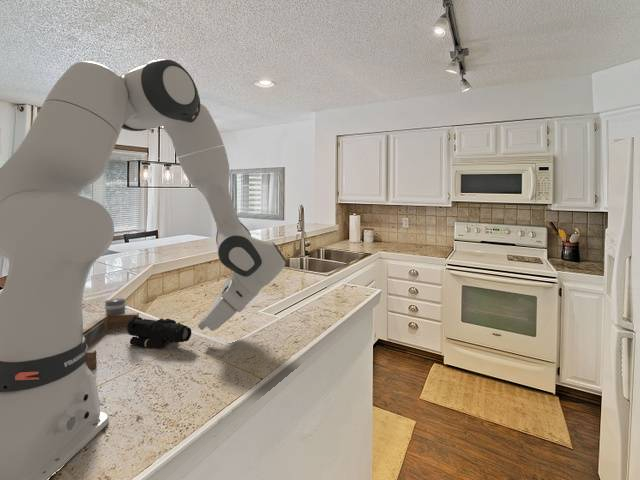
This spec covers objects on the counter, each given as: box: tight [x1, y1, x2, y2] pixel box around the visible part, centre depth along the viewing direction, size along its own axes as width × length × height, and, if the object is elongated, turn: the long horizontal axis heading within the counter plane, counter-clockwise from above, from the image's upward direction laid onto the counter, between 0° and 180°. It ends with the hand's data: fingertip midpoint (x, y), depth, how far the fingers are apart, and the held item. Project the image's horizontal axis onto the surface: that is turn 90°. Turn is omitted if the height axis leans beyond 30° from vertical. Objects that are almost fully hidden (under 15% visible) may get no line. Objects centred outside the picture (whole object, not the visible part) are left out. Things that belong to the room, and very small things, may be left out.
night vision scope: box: [126, 315, 192, 350], centre depth 86 cm, size 8×18×10 cm
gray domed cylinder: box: [104, 297, 127, 314], centre depth 101 cm, size 5×5×7 cm
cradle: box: [83, 313, 140, 371], centre depth 85 cm, size 26×9×4 cm, turn 9°
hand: (200, 326), depth 89 cm, fingers closed
